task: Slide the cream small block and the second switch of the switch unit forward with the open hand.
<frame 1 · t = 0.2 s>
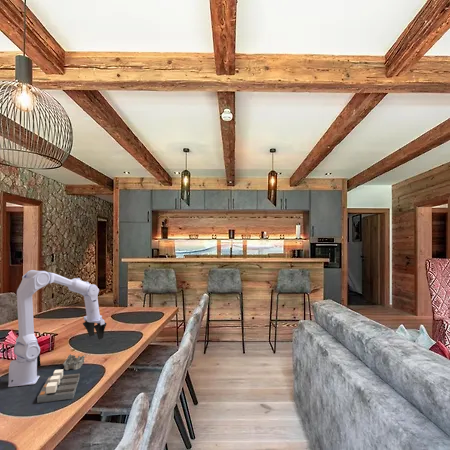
hand: (96, 337, 166), 11 cm above the table, tool pointing down, fingers open, 7 cm apart
switch 3: (58, 374, 139), point 4 cm above the table, slide at 0.0 cm
egg carton: (74, 366, 158), on the table
switch unit: (60, 389, 133), on the table
switch 2: (55, 380, 133), point 4 cm above the table, slide at 0.0 cm
speaker: (28, 368, 155), on the table
cream small block 1: (51, 387, 126), point 4 cm above the table, slide at 0.0 cm
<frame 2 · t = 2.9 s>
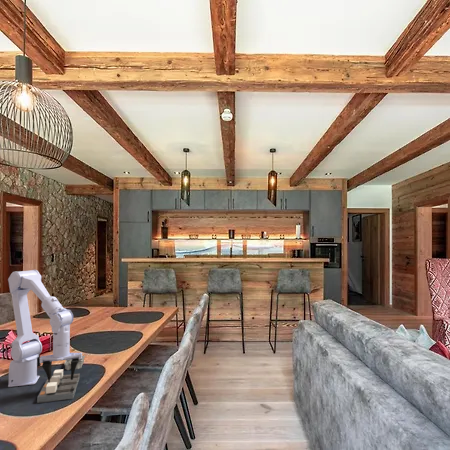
hand: (61, 379, 133), 4 cm above the table, tool pointing down, fingers open, 7 cm apart
switch 2: (55, 380, 133), point 4 cm above the table, slide at 0.0 cm, touching gripper
everything else where it was.
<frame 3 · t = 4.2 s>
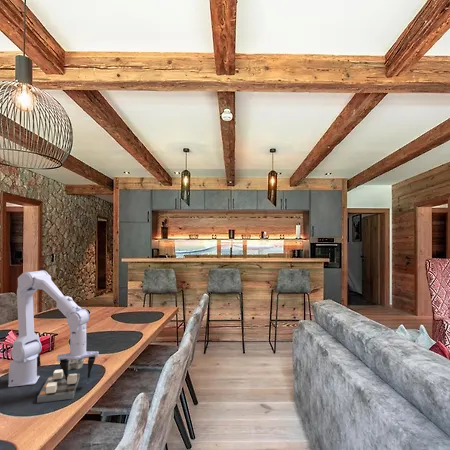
hand: (78, 378, 135), 4 cm above the table, tool pointing down, fingers open, 7 cm apart
switch 2: (72, 378, 134), point 4 cm above the table, slide at 5.9 cm, touching gripper
everything else where it was.
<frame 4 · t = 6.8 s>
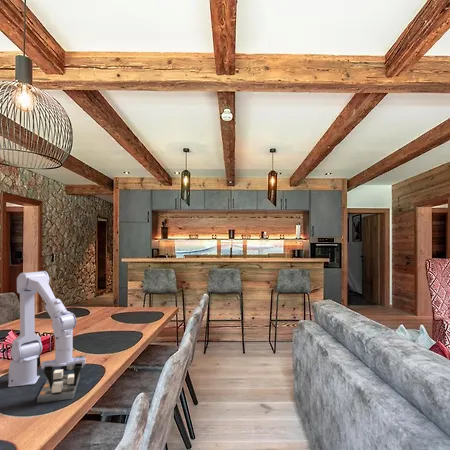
hand: (63, 386, 127), 4 cm above the table, tool pointing down, fingers open, 7 cm apart
switch 2: (72, 378, 134), point 4 cm above the table, slide at 6.0 cm
cream small block 1: (57, 387, 127), point 4 cm above the table, slide at 1.9 cm, touching gripper
everything else where it was.
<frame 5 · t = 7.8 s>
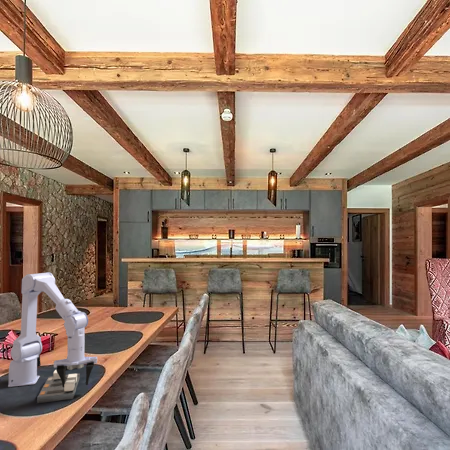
hand: (75, 384, 128), 4 cm above the table, tool pointing down, fingers open, 7 cm apart
cream small block 1: (69, 385, 128), point 4 cm above the table, slide at 5.9 cm, touching gripper
everything else where it was.
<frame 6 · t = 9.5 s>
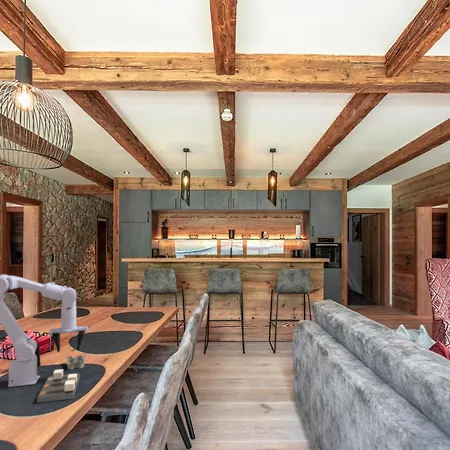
hand: (68, 350, 147), 10 cm above the table, tool pointing down, fingers open, 7 cm apart
cream small block 1: (69, 385, 128), point 4 cm above the table, slide at 6.0 cm
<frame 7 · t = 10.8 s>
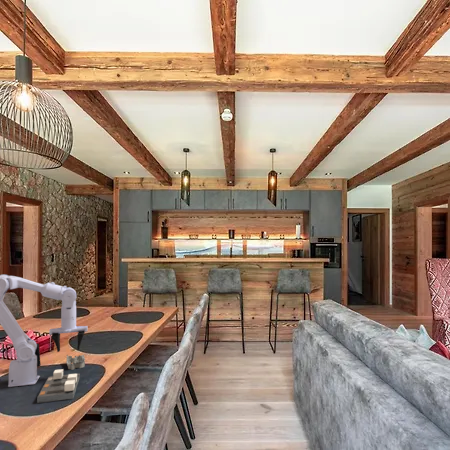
hand: (68, 350, 147), 10 cm above the table, tool pointing down, fingers open, 7 cm apart
at the end: cream small block 1 slide at 6.0 cm; switch 2 slide at 6.0 cm; switch 3 slide at 0.0 cm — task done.
